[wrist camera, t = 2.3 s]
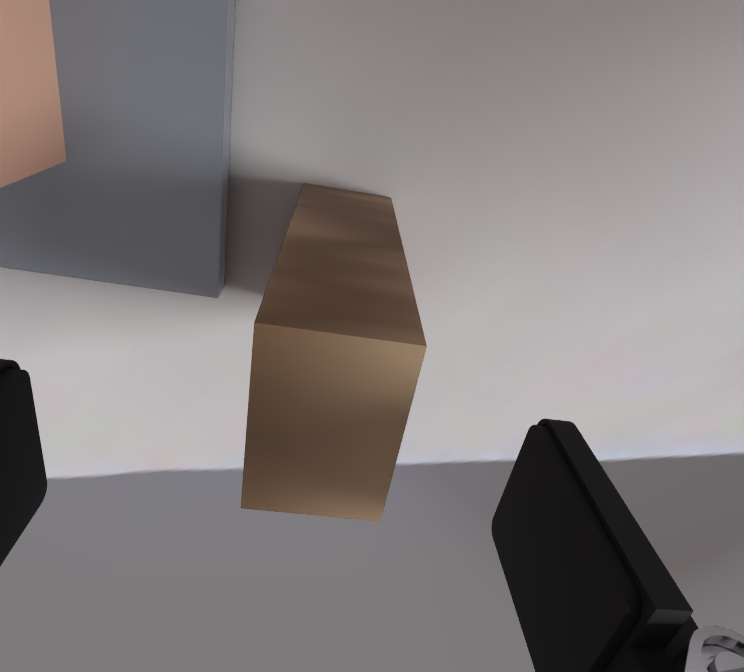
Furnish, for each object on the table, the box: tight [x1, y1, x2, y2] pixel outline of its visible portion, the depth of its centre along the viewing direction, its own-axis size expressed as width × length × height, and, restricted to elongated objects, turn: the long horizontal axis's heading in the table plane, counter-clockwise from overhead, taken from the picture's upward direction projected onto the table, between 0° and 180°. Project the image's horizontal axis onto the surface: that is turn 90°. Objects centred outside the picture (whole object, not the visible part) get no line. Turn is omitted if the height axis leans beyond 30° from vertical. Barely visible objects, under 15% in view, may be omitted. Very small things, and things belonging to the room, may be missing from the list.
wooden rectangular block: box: [241, 183, 427, 522], centre depth 14 cm, size 3×4×10 cm, turn 170°
